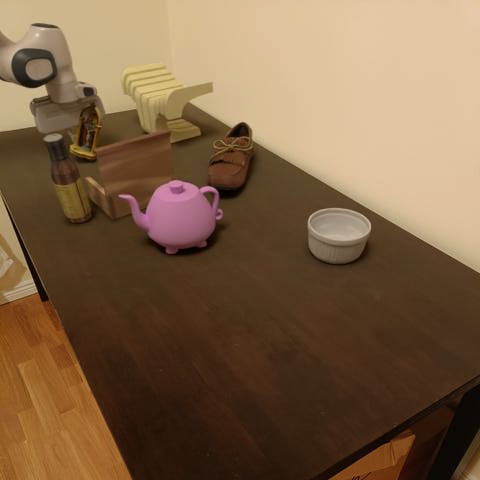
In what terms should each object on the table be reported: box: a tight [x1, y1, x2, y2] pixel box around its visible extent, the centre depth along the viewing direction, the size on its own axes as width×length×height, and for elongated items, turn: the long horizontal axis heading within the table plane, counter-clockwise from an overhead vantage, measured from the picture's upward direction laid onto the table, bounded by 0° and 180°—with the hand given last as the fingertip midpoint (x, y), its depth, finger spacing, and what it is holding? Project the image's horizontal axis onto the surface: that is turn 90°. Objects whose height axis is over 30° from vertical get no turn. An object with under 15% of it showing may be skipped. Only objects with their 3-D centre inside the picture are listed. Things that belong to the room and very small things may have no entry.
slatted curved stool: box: [120, 61, 214, 144], centre depth 138 cm, size 30×16×18 cm, turn 37°
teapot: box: [118, 179, 224, 255], centre depth 93 cm, size 22×16×14 cm
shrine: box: [68, 102, 103, 162], centre depth 126 cm, size 12×8×15 cm
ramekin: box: [306, 207, 372, 265], centre depth 92 cm, size 13×13×7 cm
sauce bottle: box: [43, 133, 93, 224], centre depth 98 cm, size 6×6×20 cm
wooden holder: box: [84, 129, 176, 221], centre depth 106 cm, size 14×19×17 cm
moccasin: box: [205, 121, 254, 191], centre depth 117 cm, size 31×12×12 cm, turn 158°
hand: (77, 141), depth 130 cm, fingers closed, pressing on shrine
